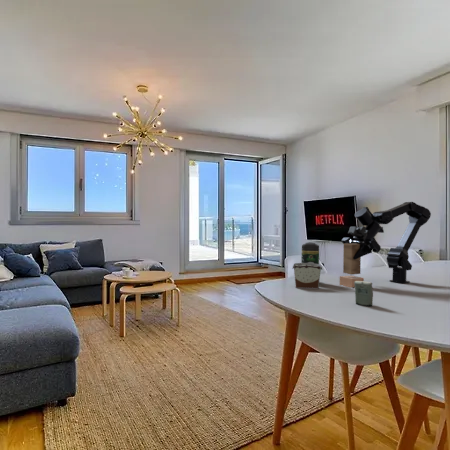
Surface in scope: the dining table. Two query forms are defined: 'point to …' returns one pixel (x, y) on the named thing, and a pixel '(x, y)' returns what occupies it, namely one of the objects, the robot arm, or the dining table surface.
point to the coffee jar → (310, 253)
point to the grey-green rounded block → (363, 293)
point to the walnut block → (351, 259)
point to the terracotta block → (349, 280)
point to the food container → (307, 275)
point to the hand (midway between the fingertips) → (349, 258)
